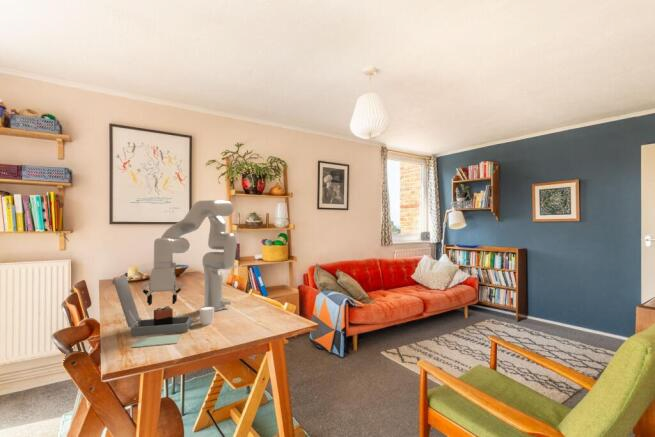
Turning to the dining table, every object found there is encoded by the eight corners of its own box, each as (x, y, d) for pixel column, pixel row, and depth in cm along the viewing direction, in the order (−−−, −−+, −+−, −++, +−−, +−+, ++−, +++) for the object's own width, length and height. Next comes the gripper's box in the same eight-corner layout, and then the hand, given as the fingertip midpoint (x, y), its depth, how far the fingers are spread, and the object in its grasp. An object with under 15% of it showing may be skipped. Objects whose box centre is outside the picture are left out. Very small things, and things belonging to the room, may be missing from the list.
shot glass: (217, 321, 155) (217, 306, 155) (207, 325, 148) (207, 310, 148) (205, 320, 157) (206, 305, 157) (196, 324, 151) (196, 309, 151)
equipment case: (191, 323, 152) (191, 300, 152) (187, 331, 140) (187, 306, 140) (136, 327, 146) (136, 303, 146) (127, 336, 134) (128, 310, 134)
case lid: (125, 275, 145) (123, 275, 145) (115, 279, 133) (113, 280, 133) (139, 318, 146) (137, 319, 146) (131, 327, 134) (128, 327, 134)
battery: (172, 329, 144) (172, 306, 144) (156, 332, 139) (156, 309, 139) (169, 326, 147) (169, 305, 147) (153, 330, 142) (153, 307, 142)
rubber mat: (180, 335, 136) (180, 334, 136) (176, 343, 126) (176, 342, 126) (138, 338, 132) (138, 337, 132) (130, 347, 122) (130, 346, 122)
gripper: (185, 264, 149) (184, 301, 149) (144, 265, 145) (142, 303, 144) (182, 265, 142) (181, 304, 141) (138, 266, 137) (137, 307, 137)
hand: (162, 304), depth 143 cm, fingers open, 9 cm apart
